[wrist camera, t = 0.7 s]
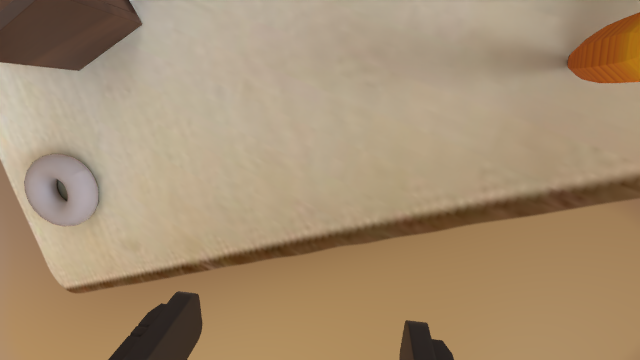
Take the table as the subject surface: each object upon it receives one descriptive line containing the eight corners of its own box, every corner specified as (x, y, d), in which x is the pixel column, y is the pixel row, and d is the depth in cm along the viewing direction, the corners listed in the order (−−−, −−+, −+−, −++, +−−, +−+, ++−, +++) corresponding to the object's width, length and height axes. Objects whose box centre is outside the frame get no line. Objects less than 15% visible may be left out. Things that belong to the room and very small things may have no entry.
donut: (34, 191, 46) (87, 235, 46) (7, 198, 43) (65, 244, 43) (59, 136, 44) (116, 182, 43) (32, 139, 40) (94, 189, 40)
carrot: (533, 80, 32) (659, 61, 18) (559, 28, 31) (718, -37, 16) (583, 96, 32) (753, 90, 17) (611, 44, 30) (822, -8, 16)
